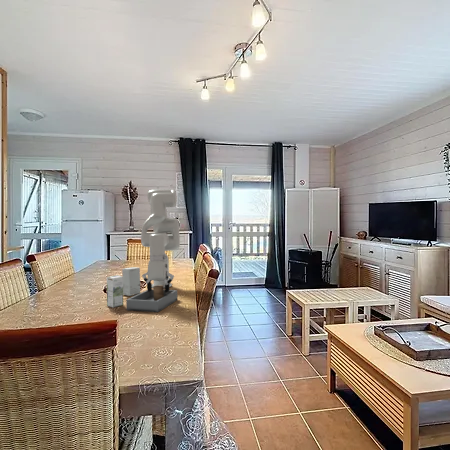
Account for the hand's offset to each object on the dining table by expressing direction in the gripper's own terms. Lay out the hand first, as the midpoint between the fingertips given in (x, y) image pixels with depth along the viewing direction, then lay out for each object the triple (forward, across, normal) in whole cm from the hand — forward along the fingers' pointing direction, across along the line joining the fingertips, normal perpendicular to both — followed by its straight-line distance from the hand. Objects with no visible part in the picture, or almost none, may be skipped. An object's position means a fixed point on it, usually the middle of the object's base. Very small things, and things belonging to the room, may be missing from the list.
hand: (158, 291), depth 163 cm
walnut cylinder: (+4, 0, 0) cm, 4 cm away
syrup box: (+6, +18, +11) cm, 22 cm away
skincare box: (+6, +23, -12) cm, 26 cm away
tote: (+5, 0, +6) cm, 8 cm away
